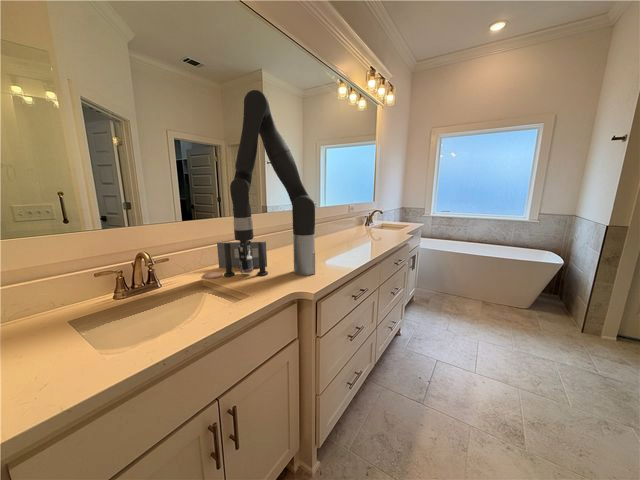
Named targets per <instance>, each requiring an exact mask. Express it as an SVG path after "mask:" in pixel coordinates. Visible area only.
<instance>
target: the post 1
mask: <svg viewBox="0 0 640 480" xmlns="http://www.w3.org/2000/svg"><path fill="white" fill-rule="evenodd" d="M224 251H225V263H226V268H225V272H224V274H223V277H225V278H232V277H234V276H235V275H236V274H235V272H234V271H233V268H232V262H231V249H230V243H224Z"/></svg>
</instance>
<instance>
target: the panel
mask: <svg viewBox="0 0 640 480" xmlns="http://www.w3.org/2000/svg"><path fill="white" fill-rule="evenodd" d="M258 242H259V241H251V254H250V255H251V256H252V262H253V268H260V266H259V247H258ZM260 242H264V251H265V268H266V267H268V256H267V255H268V254H267V241H260ZM224 243H230V249H231V262H232V269H235V268H239V269H240V262H239V251H238V247H239V245H240V241H224V242H223V241H220V242H219V241H218V242H216V246H217V247H216V248H217V259H218V260H217V261H218V268H219V269H226V263H225V251H224Z"/></svg>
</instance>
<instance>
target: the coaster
mask: <svg viewBox="0 0 640 480" xmlns="http://www.w3.org/2000/svg"><path fill="white" fill-rule="evenodd" d="M223 276H224V274H223V272H220V271H212V272H211V271H210V272H207V273H204V274H202V276H201V278H202V279H203V280H213V279H214V280H215V279H218V278H221V277H223Z"/></svg>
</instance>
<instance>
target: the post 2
mask: <svg viewBox="0 0 640 480" xmlns="http://www.w3.org/2000/svg"><path fill="white" fill-rule="evenodd" d="M257 242H258V247H259V266H260V267H259V271H258V272H257V276H258V277H265V276H267V275H268V274H269V271H268V270H266V267H265V251H264V242H261V241H257Z"/></svg>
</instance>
